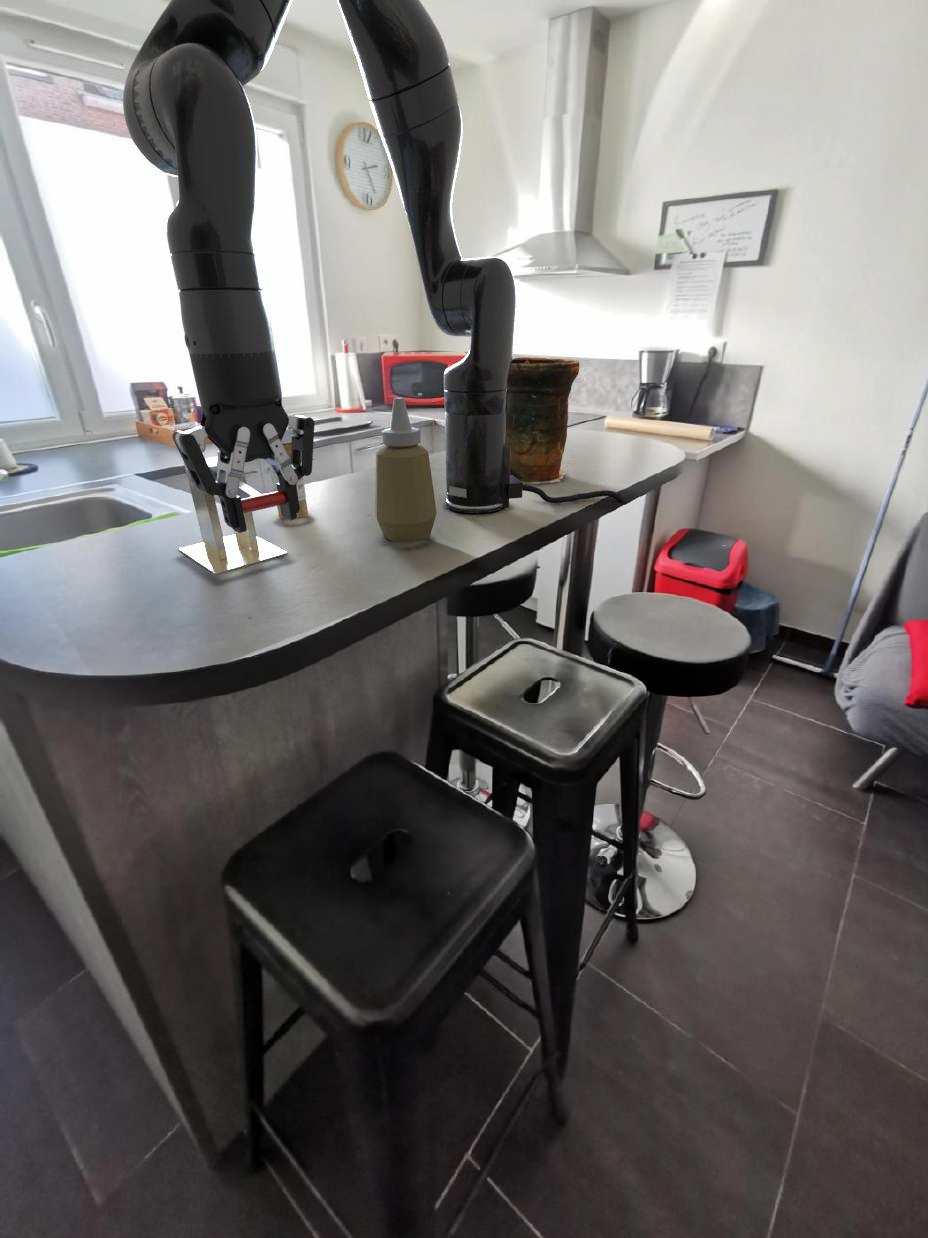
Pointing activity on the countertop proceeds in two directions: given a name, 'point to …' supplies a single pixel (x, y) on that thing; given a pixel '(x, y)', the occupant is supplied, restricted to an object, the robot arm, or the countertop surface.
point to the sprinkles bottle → (303, 509)
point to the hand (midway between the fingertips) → (265, 523)
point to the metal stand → (225, 538)
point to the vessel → (538, 416)
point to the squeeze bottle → (403, 481)
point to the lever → (251, 493)
